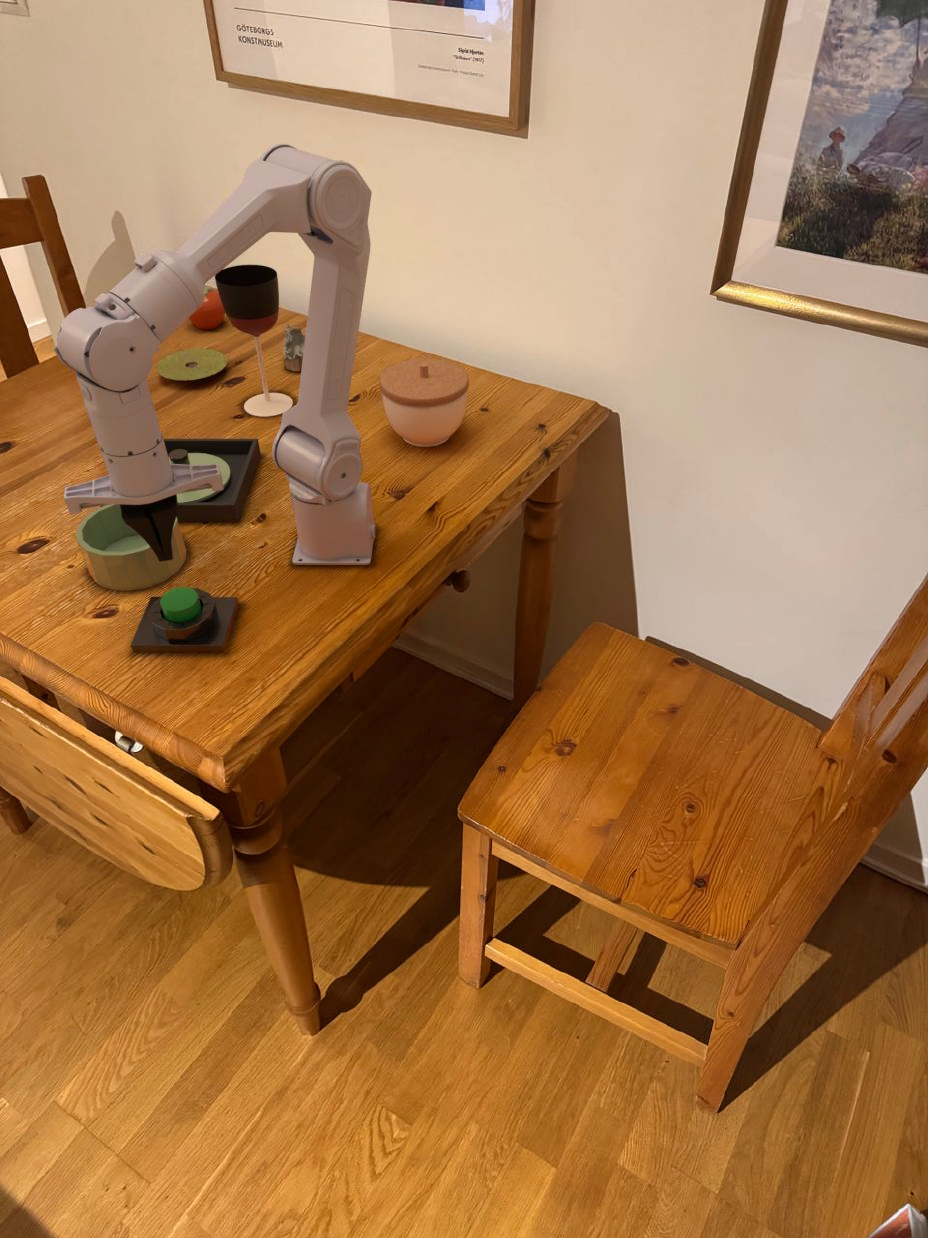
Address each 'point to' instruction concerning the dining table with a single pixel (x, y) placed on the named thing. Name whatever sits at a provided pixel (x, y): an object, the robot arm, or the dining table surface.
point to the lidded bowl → (424, 399)
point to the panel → (187, 627)
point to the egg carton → (293, 348)
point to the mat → (191, 364)
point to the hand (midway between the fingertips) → (165, 555)
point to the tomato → (209, 310)
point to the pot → (124, 552)
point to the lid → (199, 459)
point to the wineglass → (253, 321)
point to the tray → (231, 499)
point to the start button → (180, 604)
